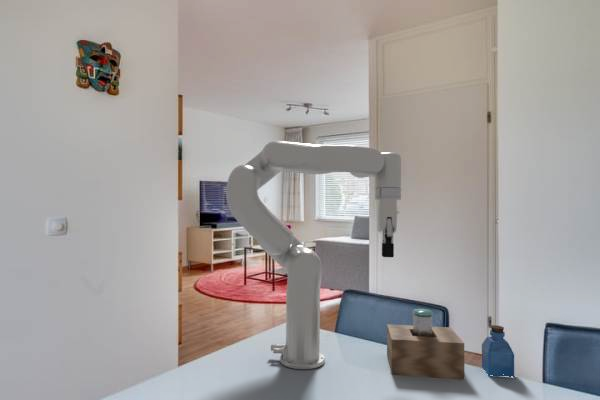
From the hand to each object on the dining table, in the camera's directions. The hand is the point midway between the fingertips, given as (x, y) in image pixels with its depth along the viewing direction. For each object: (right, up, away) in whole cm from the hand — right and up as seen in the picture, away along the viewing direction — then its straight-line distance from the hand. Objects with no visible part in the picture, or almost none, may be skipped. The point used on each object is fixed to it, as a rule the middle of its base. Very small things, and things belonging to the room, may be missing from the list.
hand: (387, 256), depth 114 cm
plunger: (+8, -23, -8) cm, 25 cm away
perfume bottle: (+26, -29, -12) cm, 41 cm away
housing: (+8, -29, -8) cm, 31 cm away
